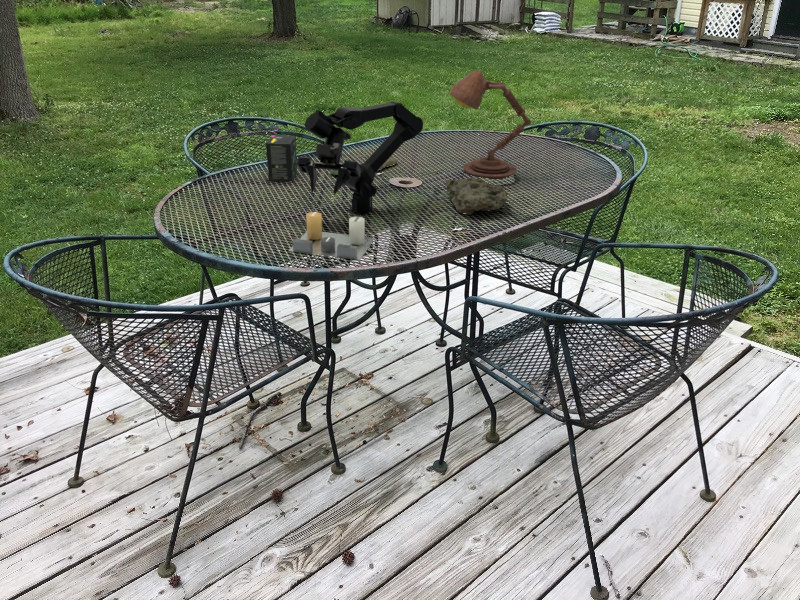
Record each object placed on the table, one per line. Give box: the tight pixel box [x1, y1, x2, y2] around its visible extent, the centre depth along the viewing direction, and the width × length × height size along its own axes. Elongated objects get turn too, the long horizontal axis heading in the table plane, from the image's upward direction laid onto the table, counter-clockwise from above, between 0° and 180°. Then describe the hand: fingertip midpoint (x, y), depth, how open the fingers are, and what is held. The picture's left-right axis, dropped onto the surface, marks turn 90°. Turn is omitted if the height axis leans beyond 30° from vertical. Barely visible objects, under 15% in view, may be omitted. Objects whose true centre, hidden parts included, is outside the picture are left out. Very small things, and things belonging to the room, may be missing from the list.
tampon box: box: [265, 135, 298, 183], centre depth 242 cm, size 11×9×15 cm
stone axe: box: [330, 157, 398, 176], centre depth 252 cm, size 26×5×30 cm
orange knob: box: [305, 211, 323, 240], centre depth 190 cm, size 4×4×7 cm
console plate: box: [288, 231, 375, 260], centre depth 187 cm, size 16×21×4 cm
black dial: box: [321, 237, 335, 252], centre depth 184 cm, size 4×4×3 cm
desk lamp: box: [449, 69, 532, 179], centre depth 242 cm, size 21×32×40 cm, turn 100°
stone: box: [445, 178, 508, 215], centre depth 221 cm, size 25×19×8 cm
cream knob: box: [348, 216, 365, 245], centre depth 187 cm, size 4×4×7 cm
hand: (323, 192), depth 194 cm, fingers open, 7 cm apart
